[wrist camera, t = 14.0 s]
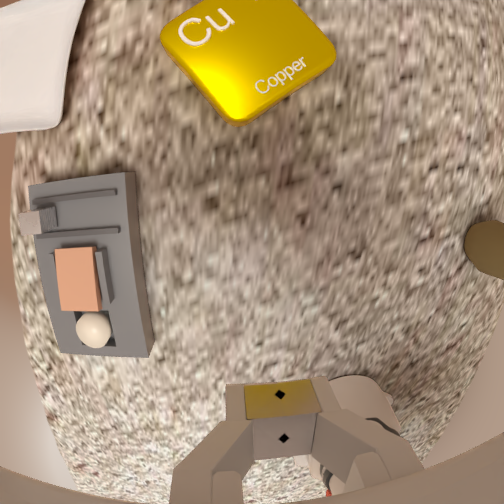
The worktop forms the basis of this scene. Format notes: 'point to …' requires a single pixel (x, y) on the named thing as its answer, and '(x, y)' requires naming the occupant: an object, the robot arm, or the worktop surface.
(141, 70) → the worktop surface
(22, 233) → the slider lever
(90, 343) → the push button
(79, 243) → the control panel
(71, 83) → the worktop surface
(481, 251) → the squeeze bottle
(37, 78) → the salad plate
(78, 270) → the rocker switch
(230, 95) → the element tile
